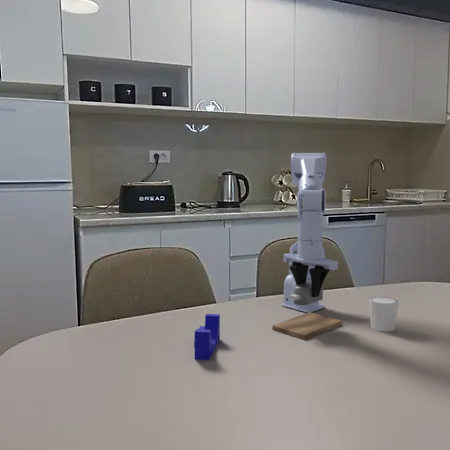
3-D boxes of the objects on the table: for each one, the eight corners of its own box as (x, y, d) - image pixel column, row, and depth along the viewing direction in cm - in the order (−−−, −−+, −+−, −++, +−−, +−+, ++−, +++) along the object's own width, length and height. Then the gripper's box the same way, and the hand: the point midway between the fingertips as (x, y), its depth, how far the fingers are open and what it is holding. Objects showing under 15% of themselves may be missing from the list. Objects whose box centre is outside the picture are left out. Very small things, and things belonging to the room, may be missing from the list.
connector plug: (286, 304, 109) (286, 288, 109) (313, 295, 117) (314, 280, 117) (298, 307, 107) (298, 290, 106) (325, 298, 115) (325, 282, 114)
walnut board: (272, 329, 111) (272, 325, 111) (310, 315, 122) (310, 312, 122) (304, 339, 105) (304, 335, 105) (341, 324, 115) (341, 320, 115)
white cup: (393, 323, 116) (394, 296, 116) (400, 333, 110) (402, 304, 109) (365, 322, 117) (366, 295, 116) (371, 331, 110) (372, 303, 109)
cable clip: (200, 338, 106) (200, 313, 105) (219, 340, 105) (219, 314, 104) (187, 359, 94) (187, 331, 93) (209, 361, 93) (209, 332, 92)
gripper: (275, 237, 113) (274, 291, 115) (326, 244, 103) (324, 304, 105) (293, 235, 118) (292, 287, 120) (343, 241, 108) (341, 298, 109)
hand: (308, 294), depth 112 cm, fingers closed on connector plug, 3 cm apart
